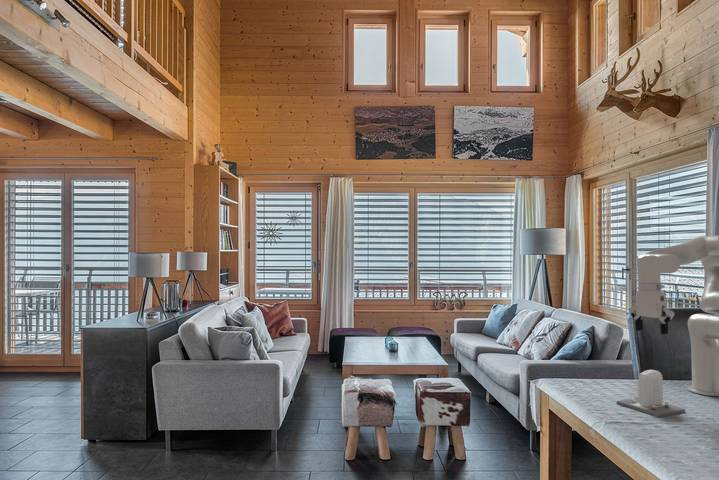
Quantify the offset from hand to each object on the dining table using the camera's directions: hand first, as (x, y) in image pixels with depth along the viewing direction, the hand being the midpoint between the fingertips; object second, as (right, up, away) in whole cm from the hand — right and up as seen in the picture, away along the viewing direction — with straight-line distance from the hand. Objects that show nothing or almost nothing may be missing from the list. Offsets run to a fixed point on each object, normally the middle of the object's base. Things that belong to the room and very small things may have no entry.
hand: (651, 332), depth 181 cm
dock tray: (-7, -26, -10) cm, 28 cm away
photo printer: (-6, -25, -10) cm, 27 cm away
